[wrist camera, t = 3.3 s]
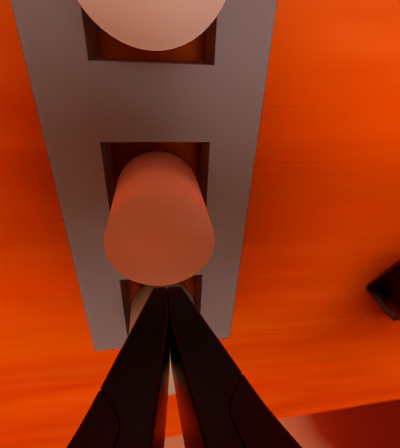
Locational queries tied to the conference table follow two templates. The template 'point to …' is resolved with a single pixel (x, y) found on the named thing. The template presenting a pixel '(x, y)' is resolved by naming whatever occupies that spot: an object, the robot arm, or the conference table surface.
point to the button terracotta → (158, 221)
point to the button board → (147, 139)
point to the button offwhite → (153, 20)
